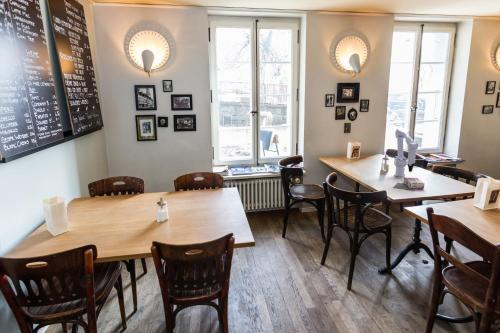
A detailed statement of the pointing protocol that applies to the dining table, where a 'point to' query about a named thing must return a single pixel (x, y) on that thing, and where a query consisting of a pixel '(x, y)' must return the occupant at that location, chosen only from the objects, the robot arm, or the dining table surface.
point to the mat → (402, 186)
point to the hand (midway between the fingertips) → (410, 171)
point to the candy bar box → (413, 183)
